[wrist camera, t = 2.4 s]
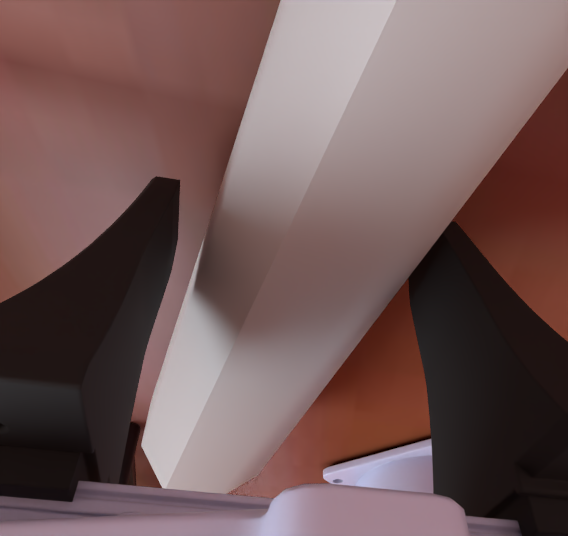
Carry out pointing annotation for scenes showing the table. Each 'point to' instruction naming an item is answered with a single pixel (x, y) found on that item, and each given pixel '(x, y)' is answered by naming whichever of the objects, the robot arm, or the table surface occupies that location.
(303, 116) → the tube
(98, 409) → the robot arm
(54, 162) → the table surface
